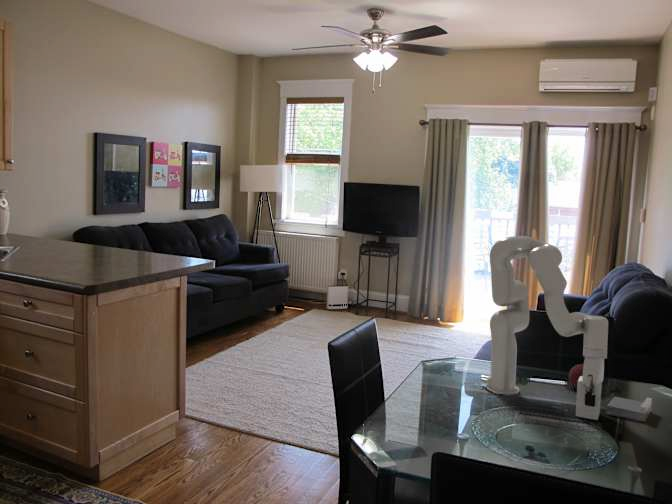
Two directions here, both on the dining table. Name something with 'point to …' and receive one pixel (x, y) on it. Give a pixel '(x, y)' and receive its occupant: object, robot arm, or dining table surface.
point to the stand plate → (629, 408)
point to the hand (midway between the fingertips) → (593, 402)
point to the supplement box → (581, 408)
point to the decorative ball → (575, 374)
